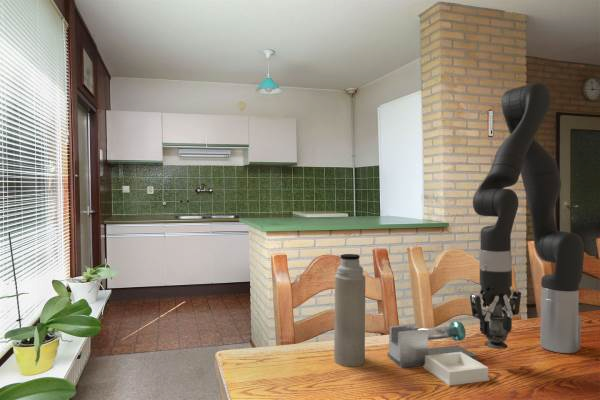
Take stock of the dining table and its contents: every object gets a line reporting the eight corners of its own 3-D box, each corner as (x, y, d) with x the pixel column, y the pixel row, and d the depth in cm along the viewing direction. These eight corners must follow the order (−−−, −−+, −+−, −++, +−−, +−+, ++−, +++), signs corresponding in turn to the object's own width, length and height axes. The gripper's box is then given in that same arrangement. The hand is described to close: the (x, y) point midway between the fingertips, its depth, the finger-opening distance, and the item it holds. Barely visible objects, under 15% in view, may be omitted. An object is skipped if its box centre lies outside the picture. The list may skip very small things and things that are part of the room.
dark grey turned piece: (511, 350, 111) (511, 301, 110) (486, 348, 112) (486, 301, 111) (505, 341, 116) (505, 295, 116) (481, 340, 117) (481, 295, 117)
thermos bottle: (346, 352, 123) (347, 251, 122) (370, 360, 118) (371, 254, 117) (328, 360, 117) (328, 254, 117) (352, 369, 112) (353, 258, 111)
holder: (461, 362, 116) (461, 351, 116) (489, 380, 106) (489, 367, 106) (423, 367, 113) (423, 355, 113) (449, 385, 103) (449, 372, 103)
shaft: (454, 337, 124) (454, 319, 124) (465, 343, 120) (465, 324, 119) (413, 341, 121) (413, 322, 121) (423, 347, 116) (423, 328, 116)
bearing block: (458, 348, 127) (458, 318, 126) (476, 359, 119) (477, 327, 119) (387, 356, 121) (387, 325, 120) (402, 367, 113) (402, 334, 113)
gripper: (508, 263, 119) (508, 325, 119) (461, 267, 115) (462, 331, 115) (530, 268, 112) (530, 334, 112) (481, 272, 108) (481, 341, 108)
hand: (495, 332), depth 114 cm, fingers closed on dark grey turned piece, 6 cm apart
